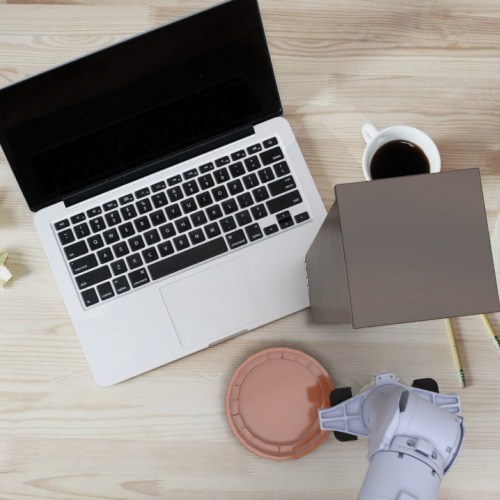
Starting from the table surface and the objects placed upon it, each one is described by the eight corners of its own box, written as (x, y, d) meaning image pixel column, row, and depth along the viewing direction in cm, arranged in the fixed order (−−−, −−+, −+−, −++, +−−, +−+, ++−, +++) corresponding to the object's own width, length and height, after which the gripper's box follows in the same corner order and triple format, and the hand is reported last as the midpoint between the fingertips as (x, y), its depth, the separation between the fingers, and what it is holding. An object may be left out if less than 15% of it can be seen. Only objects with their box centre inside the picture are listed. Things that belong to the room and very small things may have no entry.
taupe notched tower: (379, 316, 88) (501, 312, 41) (309, 324, 88) (353, 329, 41) (370, 247, 89) (479, 166, 42) (301, 255, 89) (334, 184, 42)
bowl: (340, 448, 86) (343, 453, 83) (233, 460, 87) (232, 466, 83) (326, 340, 88) (329, 341, 84) (221, 352, 88) (219, 354, 84)
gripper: (466, 368, 69) (434, 360, 82) (317, 385, 69) (310, 374, 83) (477, 442, 68) (443, 421, 82) (326, 459, 69) (317, 436, 82)
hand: (376, 402), depth 82 cm, fingers closed on toy creature, 6 cm apart
